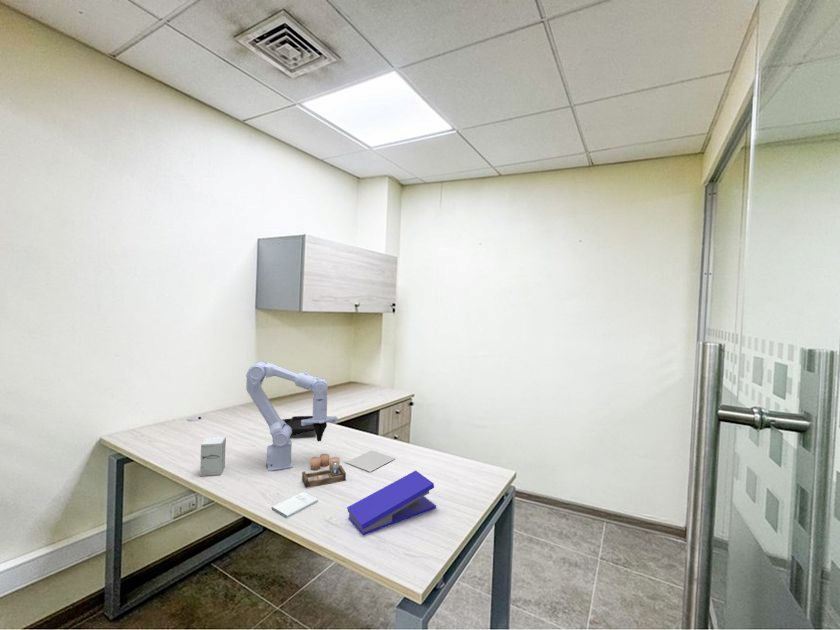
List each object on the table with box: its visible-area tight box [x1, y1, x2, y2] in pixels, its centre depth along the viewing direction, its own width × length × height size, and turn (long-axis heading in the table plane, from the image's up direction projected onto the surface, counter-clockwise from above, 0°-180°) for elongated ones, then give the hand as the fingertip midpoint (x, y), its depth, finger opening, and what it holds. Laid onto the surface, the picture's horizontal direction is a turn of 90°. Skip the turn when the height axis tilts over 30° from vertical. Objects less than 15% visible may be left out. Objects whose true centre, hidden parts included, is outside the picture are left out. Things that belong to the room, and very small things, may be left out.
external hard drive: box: [270, 491, 319, 519], centre depth 125 cm, size 2×8×12 cm
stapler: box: [346, 470, 437, 537], centre depth 122 cm, size 12×28×10 cm, turn 126°
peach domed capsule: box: [309, 456, 321, 472], centre depth 152 cm, size 4×4×4 cm
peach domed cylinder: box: [328, 456, 340, 470], centre depth 152 cm, size 4×4×4 cm
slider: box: [330, 461, 341, 477], centre depth 144 cm, size 3×5×5 cm, turn 27°
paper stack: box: [345, 449, 396, 473], centre depth 155 cm, size 23×25×1 cm
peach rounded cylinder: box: [318, 453, 330, 468], centre depth 156 cm, size 4×4×4 cm
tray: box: [281, 415, 315, 438], centre depth 194 cm, size 30×23×5 cm
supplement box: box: [199, 436, 227, 477], centre depth 146 cm, size 7×7×13 cm
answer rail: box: [301, 464, 347, 489], centre depth 143 cm, size 15×7×3 cm, turn 117°
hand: (318, 440), depth 156 cm, fingers closed
